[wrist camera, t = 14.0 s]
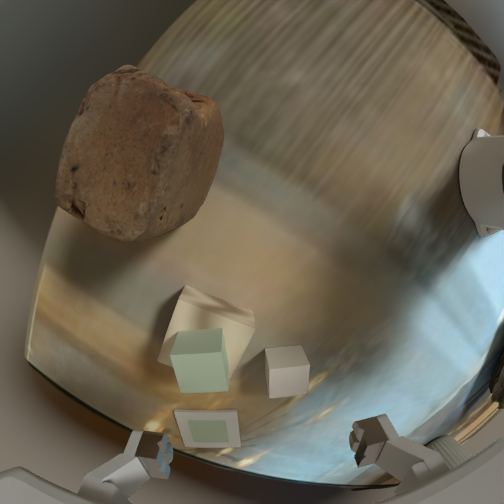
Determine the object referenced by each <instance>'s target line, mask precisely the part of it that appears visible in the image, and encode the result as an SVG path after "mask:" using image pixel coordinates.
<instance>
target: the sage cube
mask: <svg viewBox="0 0 504 504" xmlns="http://www.w3.org/2000/svg"><path fill="white" fill-rule="evenodd" d="M170 357H171V361H172V364H173V368H174V371H175V375H176V378H177V381H178V385H179V388H180V391H181V393H204V392H222V391H229V363H228V357H227V351H226V345H225V339H224V332H223V328H215V329H202V330H188V331H178V334H177V337H176V339H175V342H174V345H173V348H172V350H171V353H170Z"/></svg>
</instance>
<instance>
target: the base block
mask: <svg viewBox="0 0 504 504" xmlns="http://www.w3.org/2000/svg"><path fill="white" fill-rule="evenodd" d="M215 328H223V332H224V339H225V345H226V351H227V357H228V363H229V380H230V378H231V376H232V374H233V372H234V370H235V369H236V367H237V365H238V363H239V361H240V359H241V357H242V355H243V353H244V351H245V349H246V347H247V345H248V343H249V342H250V340H251V338H252V336H253V334H254V332H255V330H256V326H255V320H254V315H253V311H250V310H248V309H245V308H242V307H240V306H237V305H234V304H232V303H229V302H227V301H224V300H221V299H219V298H216V297H214V296H211V295H209V294H206V293H204V292H201V291H199V290H196V289H194V288H192V287H189V286H187V285H185V287H184V289H183V291H182V293H181V295H180V297H179V299H178V302H177V304H176V307H175V310H174V313H173V315H172V318H171V321H170V324H169V327H168V330H167V333H166V335H165V338H164V341H163V344H162V347H161V350H160V353H159V356H158V359H157V362H160V363H162V364H165V365H167V366H170V367H172V368H173V364H172V361H171V357H170V353H171V350H172V348H173V345H174V342H175V339H176V337H177V334H178V331H188V330H202V329H215Z"/></svg>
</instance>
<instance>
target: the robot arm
mask: <svg viewBox="0 0 504 504" xmlns="http://www.w3.org/2000/svg"><path fill="white" fill-rule="evenodd" d="M459 180H460V189H461V194H462V198H463V202H464V205H465V207H466V209H467V211H468V213H469V215H470V216H471V217H472V219H473V220H474V222H475V224H476V228H477V231H478V234H479V236H482V237H485V236H488V235H490V234H493V233H495V232H497V231H499V230H504V136H490V135H489V134H488V133H486V132H485V131H484V130H482V129H476V130H475V132H474V135H473V139H472V140H471V141H470V142H469V143H468V144H467V145H466V147H465V149H464V150H463V153H462V156H461V160H460V168H459ZM352 428H353V431H352V432H351V433H350V436H349V443H350V447H351V450H352V451H354V452H355V453H356V454H355V457H354V458H355V460H356V463H357V466H358V467H362V466H366V465H370V464H374V463H375V464H376V465H378V466H379V467H381V468H382V469H383V470H385V471H386V472H388V473H389V474H391V475H392V476H394V477H395V478H397V479H398V480H400V481H401V483H400V484H399V485H398V487H397V488H396V490H395V491H394V492H395V494H396V495H395V496H392V497H390V498H387V499H384V500H381V501H378V502H375V503H372V504H504V437H501V438H499V439H497V440H496V441H495V442H493V443H492V444H490V445H489V446H488V447H486V448H485V449H483V450H482V451H480V452H479V453H477V454H476V455H474V456H473V457H471V458H470V459H468V460H466V461H465V462H463V463H461V464H460V465H458V466H456V467H454V468H453V469H451V470H450V469H449V467H448V466H447V464H446V463H445V461H444V459H443V458H442V456H441V455H440V453H439V452H436V451H434V450H432V449H429V448H427V447H425V446H423V445H420V444H418V443H416V442H414V441H412V440H410V439H408V438H405V437H403V436H400V437H399V435H398V433H397V432H396V430H395V428H394V427H393V425H392V423H391V421H390V420H389V418H388V416H387V415H386V414H382V415H379V416H375V417H371V418H367V419H363V420H359V421H355V422H354V423H353V426H352ZM168 439H169V438H168V436H167V434H165V433H157V432H150V431H144V430H138V429H134V430H133V431H132V433H131V436H130V438H129V441H128V443H127V445H126V448H125V450H124V453H123V454H121V453H120V454H119V455H117V456H116V457H114V458H113V459H111V460H109V461H108V462H106V463H105V464H103V465H101V466H100V467H98V468H97V469H95V470H93V471H92V472H90V473H88V474H87V475H86V476H85V478H84V480H83V482H82V485H81V487H80V489H79V492H78V494H77V493H74V492H72V491H70V490H67V489H65V488H63V487H60V486H58V485H56V484H54V483H52V482H50V481H48V480H45V479H44V478H42V477H40V476H38V475H36V474H34V473H32V472H30V471H29V470H27V469H25V468H23V467H15V468H11V469H7V470H5V471H2V472H0V504H132V503H131V502H130V501H129V500H128V498H129V497H130V496H131V495H132V494H134V493H135V492H136V491H137V490H138V489H139V488H140V487H141V486H142V485H143V484H145V483H146V482H147V481H148V480H149V479H150V477H153V478H160V479H168V477H169V472H170V467H169V465H168V464H169V463H171V462H172V459H173V448H172V445H171V443H169V442H168Z"/></svg>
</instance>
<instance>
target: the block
mask: <svg viewBox="0 0 504 504" xmlns="http://www.w3.org/2000/svg"><path fill="white" fill-rule="evenodd" d="M223 140H224V130H223V122H222V117H221V113H220V110H219V107H218V106H217V104H216V103H215V102H214V101H213V100H212V99H210V98H208V97H205V96H202V95H199V94H195V93H191V92H187V91H184V90H180V89H176V88H170V87H169V86H168V85H167V84H166V83H165V82H164V81H163V80H161V79H159V78H157V77H154V76H153V75H151V74H149V73H145V72H142V71H140V70H139V69H138V68H137V67H134V66H131V65H124V66H122V67H120V68H119V69H118V70H116V71H115V72H113V73H111V74H108V75H106V76H105V77H103V78H102V79H101V80H99V81H98V82H96V83H95V84H94V85H92V86H91V87H90V89H89V91H88V92H87V94H86V96H85V97H84V99H83V102H82V104H81V106H80V108H79V111H78V114H77V116H76V118H75V120H74V122H73V124H72V125H71V127H70V129H69V132H68V136H67V138H66V140H65V143H64V146H63V150H62V154H61V158H60V163H59V167H58V173H57V180H56V185H55V201H56V203H57V205H58V206H59V207H61V208H62V209H64V210H65V211H67V212H68V213H70V214H71V215H73V216H75V217H76V218H78V219H80V220H81V221H83V222H84V223H85V224H86V225H87V226H89V227H91V228H92V229H94V230H95V231H97V232H98V233H100V234H102V235H104V236H107V237H109V238H112V239H115V240H118V241H121V242H137V241H143V240H148V239H150V238H153V237H157V236H159V235H162V234H164V233H167V232H169V231H172V230H174V229H175V228H177V227H179V226H182V225H183V224H185V223H186V222H188V221H189V220H191V219H192V218H193V217H194V216H195V215H196V213H197V212H198V210H199V209H200V207H201V206H202V205H203V203H204V201H205V198H206V196H207V194H208V192H209V189H210V186H211V184H212V181H213V179H214V176H215V173H216V170H217V166H218V162H219V159H220V155H221V150H222V147H223Z"/></svg>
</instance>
